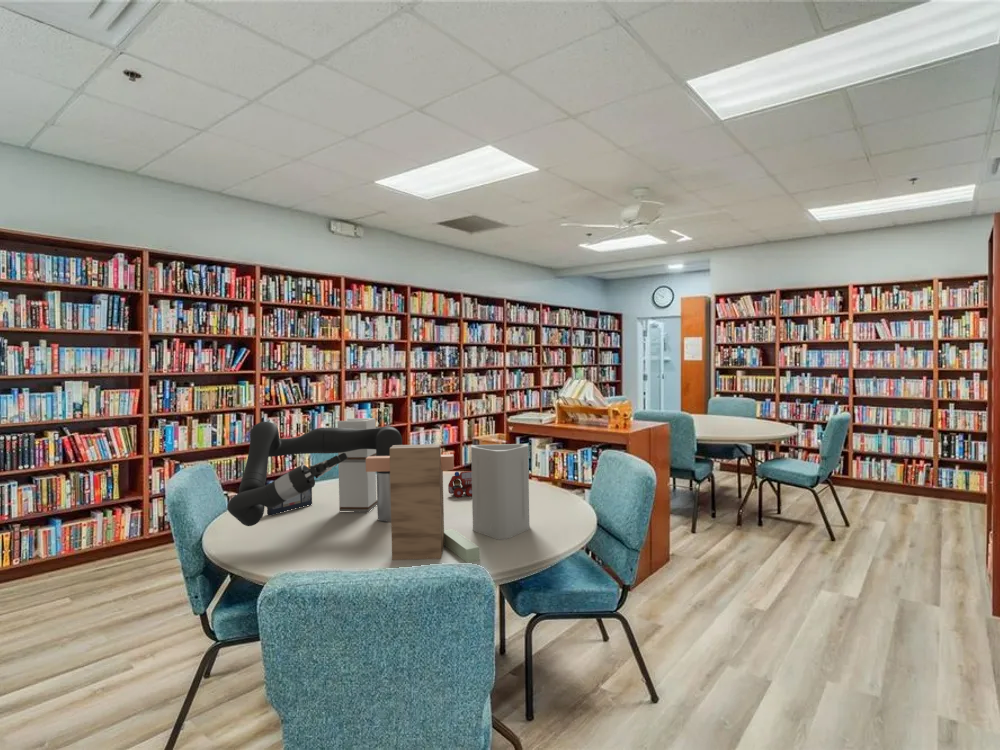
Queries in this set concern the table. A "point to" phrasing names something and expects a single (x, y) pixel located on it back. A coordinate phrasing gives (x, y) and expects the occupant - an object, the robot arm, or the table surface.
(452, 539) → the sage peg
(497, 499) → the grey triangular vase
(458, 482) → the toy fire truck
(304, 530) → the table surface
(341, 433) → the robot arm
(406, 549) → the walnut stand
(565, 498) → the table surface
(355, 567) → the table surface
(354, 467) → the banded white pillar
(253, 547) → the table surface
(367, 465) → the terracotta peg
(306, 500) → the vhs cassette tape
